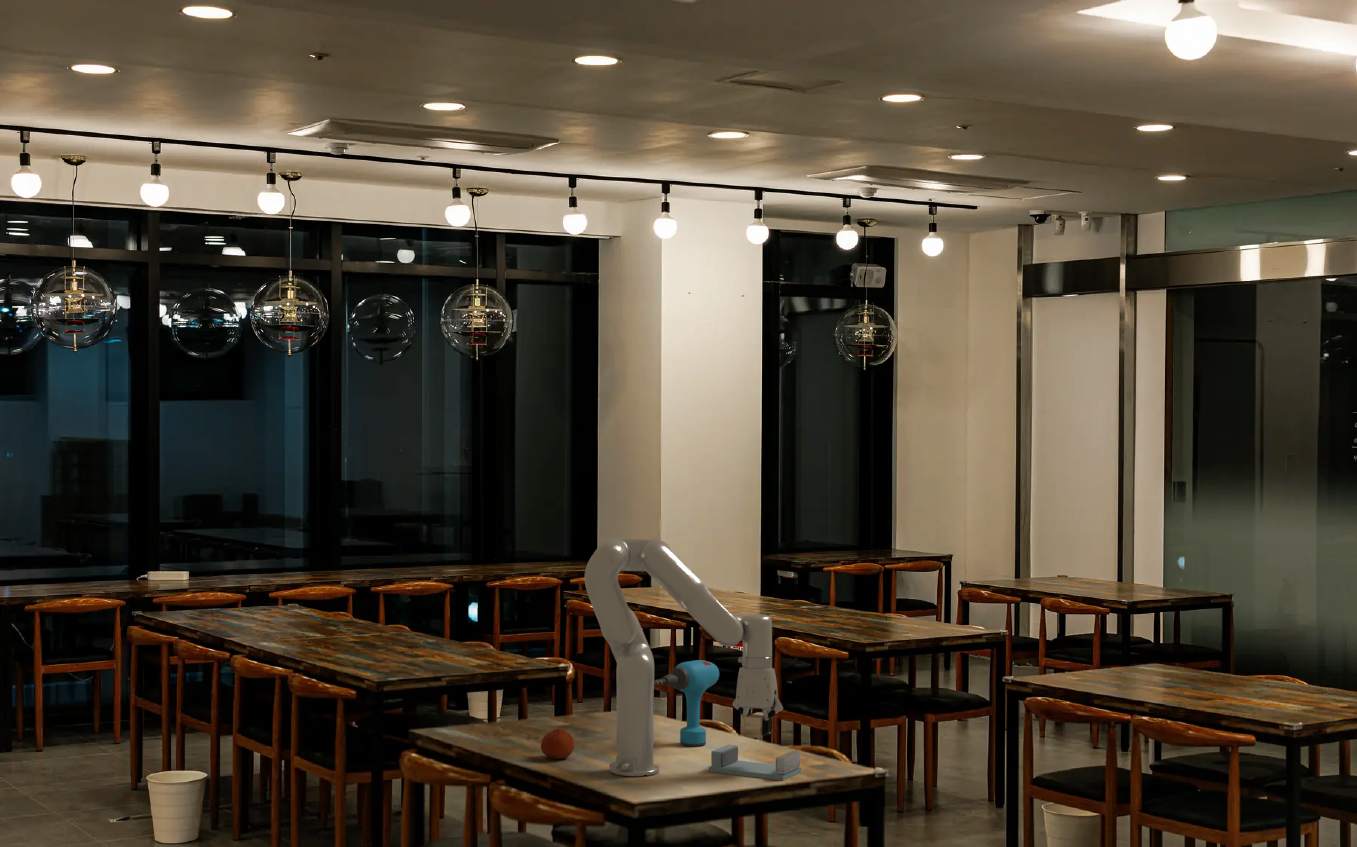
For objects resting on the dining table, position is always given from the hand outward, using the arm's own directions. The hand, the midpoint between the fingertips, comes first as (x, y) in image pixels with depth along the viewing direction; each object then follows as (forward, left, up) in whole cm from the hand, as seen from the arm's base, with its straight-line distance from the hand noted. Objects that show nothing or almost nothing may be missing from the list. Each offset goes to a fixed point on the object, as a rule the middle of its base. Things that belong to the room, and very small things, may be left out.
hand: (757, 733), depth 409 cm
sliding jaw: (0, -9, -8) cm, 12 cm away
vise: (0, +1, -10) cm, 10 cm away
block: (0, 0, 0) cm, 0 cm away
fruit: (-11, +54, -10) cm, 56 cm away
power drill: (+19, +32, -10) cm, 38 cm away
